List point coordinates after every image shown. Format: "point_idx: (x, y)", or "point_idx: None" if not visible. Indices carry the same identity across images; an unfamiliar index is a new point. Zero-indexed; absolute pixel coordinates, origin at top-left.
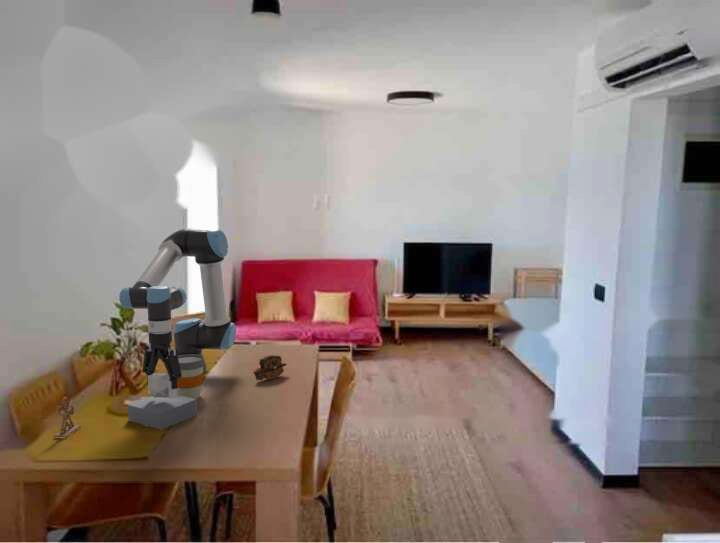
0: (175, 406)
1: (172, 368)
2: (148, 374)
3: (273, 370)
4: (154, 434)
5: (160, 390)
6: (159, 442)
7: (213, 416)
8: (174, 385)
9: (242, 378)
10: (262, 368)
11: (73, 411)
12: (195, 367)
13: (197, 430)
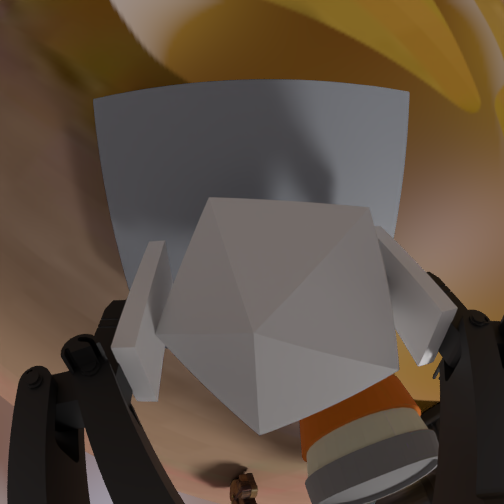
0: (125, 229)
1: (34, 477)
2: (460, 320)
3: (235, 496)
4: (105, 49)
5: (198, 227)
6: (28, 32)
7: (98, 316)
8: (101, 327)
9: (298, 463)
10: (244, 498)
11: None
12: (312, 480)
13: (17, 198)
